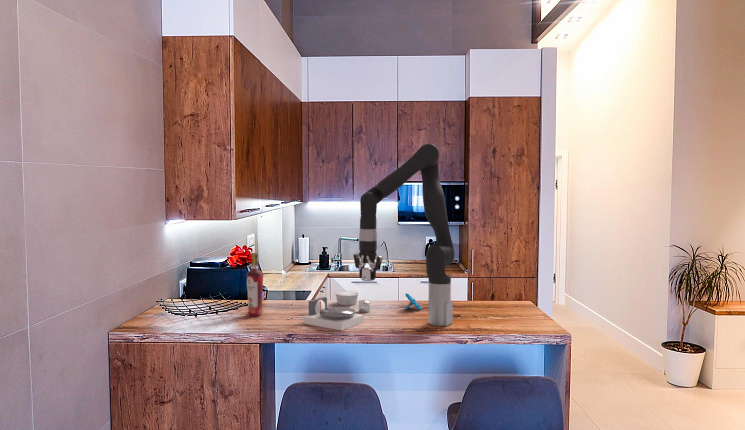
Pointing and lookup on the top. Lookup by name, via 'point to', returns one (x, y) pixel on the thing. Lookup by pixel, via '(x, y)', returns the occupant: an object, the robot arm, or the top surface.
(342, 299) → the ramekin
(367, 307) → the spacer
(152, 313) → the top surface
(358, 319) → the scale
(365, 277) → the block
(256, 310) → the liquor
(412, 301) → the blue plastic branched piece
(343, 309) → the pan
